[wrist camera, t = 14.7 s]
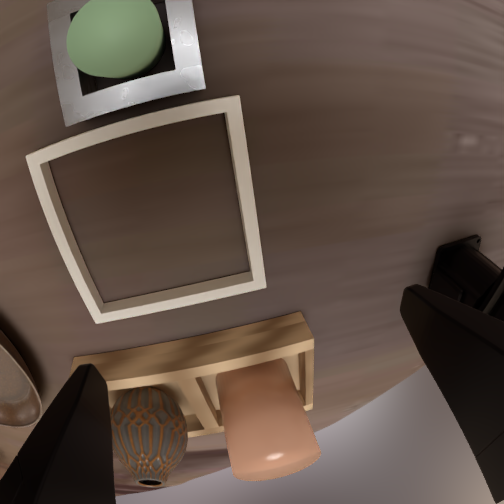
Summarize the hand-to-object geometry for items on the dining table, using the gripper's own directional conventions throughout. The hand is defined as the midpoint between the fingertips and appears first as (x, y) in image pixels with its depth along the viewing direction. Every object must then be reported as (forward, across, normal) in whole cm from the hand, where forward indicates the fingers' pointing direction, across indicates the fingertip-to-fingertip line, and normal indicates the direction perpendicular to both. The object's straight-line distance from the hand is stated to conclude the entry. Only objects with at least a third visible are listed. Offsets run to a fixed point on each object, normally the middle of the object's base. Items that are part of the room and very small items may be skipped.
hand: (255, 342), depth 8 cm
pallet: (+12, +5, +17) cm, 22 cm away
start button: (+12, +3, -10) cm, 16 cm away
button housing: (+12, +3, -10) cm, 16 cm away
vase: (+12, +10, +17) cm, 23 cm away
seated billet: (+11, 0, +17) cm, 20 cm away
